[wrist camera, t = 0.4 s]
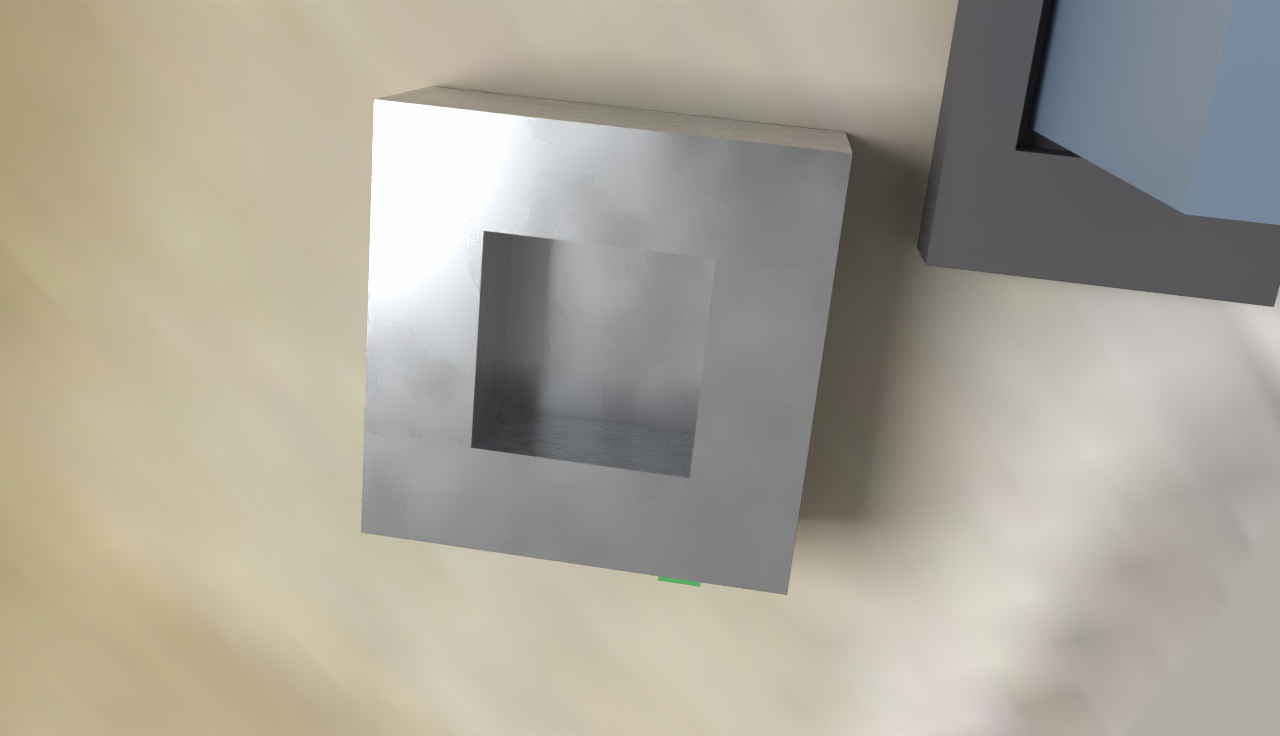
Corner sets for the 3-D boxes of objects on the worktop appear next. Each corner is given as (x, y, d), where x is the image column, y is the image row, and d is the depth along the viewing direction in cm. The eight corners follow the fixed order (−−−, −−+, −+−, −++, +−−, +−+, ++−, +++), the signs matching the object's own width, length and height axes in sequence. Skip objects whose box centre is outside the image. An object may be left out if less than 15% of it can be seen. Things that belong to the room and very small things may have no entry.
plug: (1061, -49, 31) (1254, -87, 18) (1242, -32, 31) (1576, -57, 18) (1027, 127, 33) (1184, 214, 19) (1200, 146, 32) (1482, 248, 19)
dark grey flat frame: (994, -209, 31) (1009, -227, 29) (1357, -178, 30) (1404, -194, 28) (917, 247, 35) (926, 264, 32) (1240, 285, 34) (1273, 307, 32)
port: (432, 86, 35) (374, 99, 31) (845, 132, 34) (852, 153, 29) (414, 487, 39) (360, 555, 34) (785, 540, 38) (783, 617, 33)
